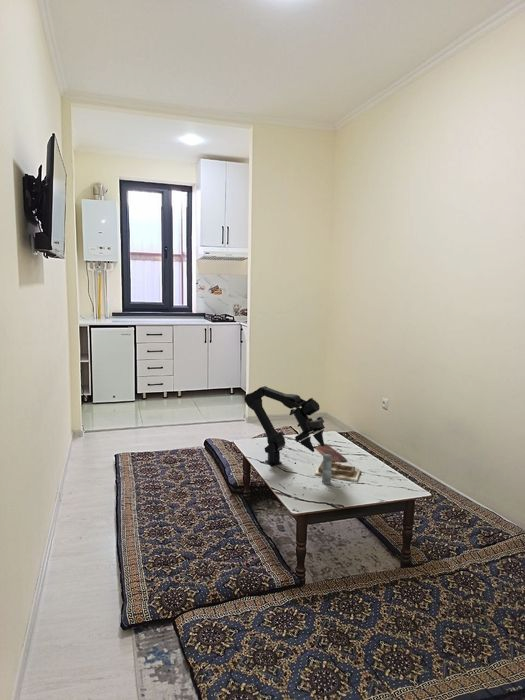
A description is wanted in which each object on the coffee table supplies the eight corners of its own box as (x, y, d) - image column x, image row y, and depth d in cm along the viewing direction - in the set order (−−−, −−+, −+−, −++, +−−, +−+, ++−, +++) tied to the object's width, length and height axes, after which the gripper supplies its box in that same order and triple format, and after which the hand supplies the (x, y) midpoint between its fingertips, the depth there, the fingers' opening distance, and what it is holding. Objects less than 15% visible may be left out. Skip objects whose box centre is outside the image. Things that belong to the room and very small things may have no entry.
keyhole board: (314, 474, 228) (315, 468, 227) (320, 464, 240) (320, 459, 239) (356, 481, 221) (357, 475, 221) (360, 471, 233) (360, 465, 233)
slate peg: (320, 481, 220) (321, 455, 218) (326, 479, 222) (328, 453, 220) (325, 485, 217) (327, 458, 215) (332, 483, 219) (333, 456, 217)
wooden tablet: (311, 443, 267) (328, 440, 270) (312, 447, 268) (328, 443, 270) (330, 461, 242) (348, 458, 244) (330, 465, 242) (348, 462, 245)
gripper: (304, 416, 215) (321, 448, 212) (324, 408, 230) (340, 437, 227) (287, 426, 222) (303, 457, 218) (308, 417, 237) (323, 446, 233)
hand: (318, 448), depth 224 cm, fingers open, 9 cm apart
